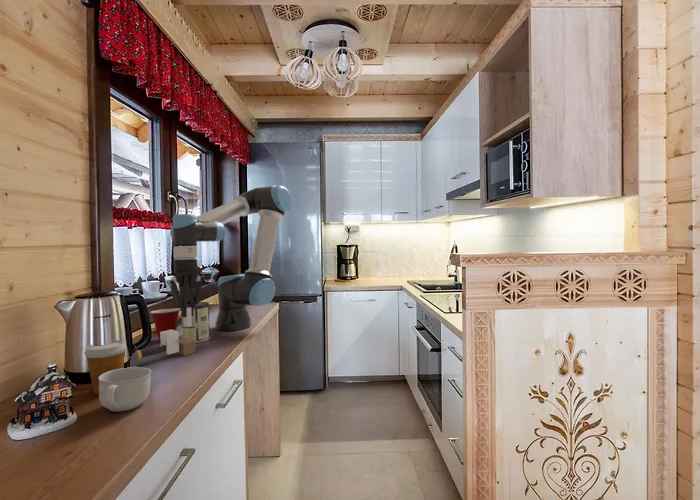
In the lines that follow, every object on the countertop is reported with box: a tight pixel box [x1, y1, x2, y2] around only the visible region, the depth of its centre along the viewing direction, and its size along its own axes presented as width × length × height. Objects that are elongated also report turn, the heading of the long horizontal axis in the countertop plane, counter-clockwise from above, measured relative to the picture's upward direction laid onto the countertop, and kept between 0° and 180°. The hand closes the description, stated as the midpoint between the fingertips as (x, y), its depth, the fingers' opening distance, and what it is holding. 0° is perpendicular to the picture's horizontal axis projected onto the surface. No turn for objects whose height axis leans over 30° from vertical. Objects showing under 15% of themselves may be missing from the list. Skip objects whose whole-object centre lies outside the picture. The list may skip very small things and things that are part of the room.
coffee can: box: [181, 301, 211, 344], centre depth 148 cm, size 10×10×14 cm
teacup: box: [98, 366, 152, 412], centre depth 89 cm, size 14×11×8 cm
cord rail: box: [130, 337, 196, 367], centre depth 125 cm, size 22×7×7 cm, turn 144°
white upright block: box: [159, 329, 180, 356], centre depth 128 cm, size 4×4×7 cm
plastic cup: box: [150, 307, 181, 342], centre depth 150 cm, size 11×11×12 cm
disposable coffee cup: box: [83, 339, 127, 395], centre depth 101 cm, size 10×10×12 cm
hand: (187, 325), depth 133 cm, fingers closed
